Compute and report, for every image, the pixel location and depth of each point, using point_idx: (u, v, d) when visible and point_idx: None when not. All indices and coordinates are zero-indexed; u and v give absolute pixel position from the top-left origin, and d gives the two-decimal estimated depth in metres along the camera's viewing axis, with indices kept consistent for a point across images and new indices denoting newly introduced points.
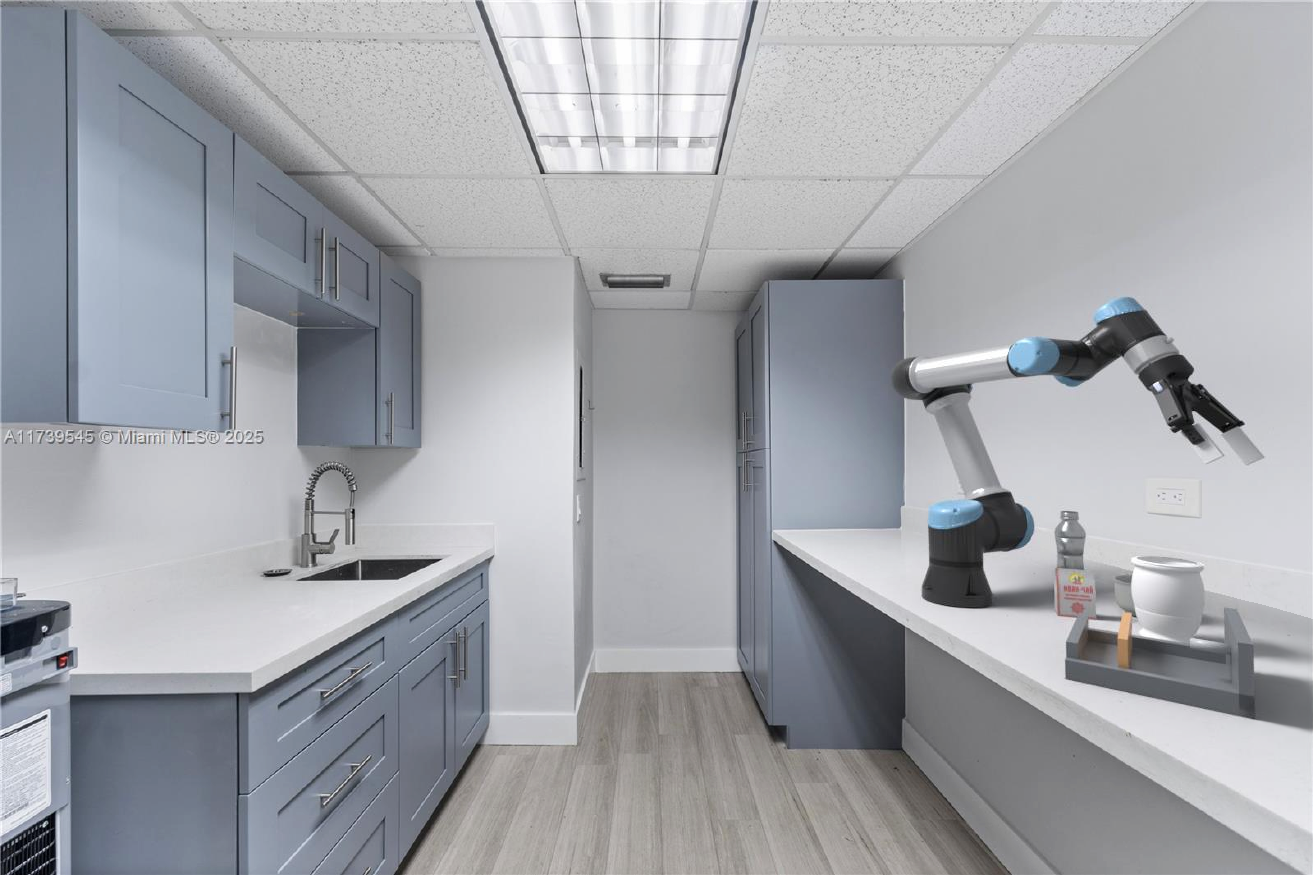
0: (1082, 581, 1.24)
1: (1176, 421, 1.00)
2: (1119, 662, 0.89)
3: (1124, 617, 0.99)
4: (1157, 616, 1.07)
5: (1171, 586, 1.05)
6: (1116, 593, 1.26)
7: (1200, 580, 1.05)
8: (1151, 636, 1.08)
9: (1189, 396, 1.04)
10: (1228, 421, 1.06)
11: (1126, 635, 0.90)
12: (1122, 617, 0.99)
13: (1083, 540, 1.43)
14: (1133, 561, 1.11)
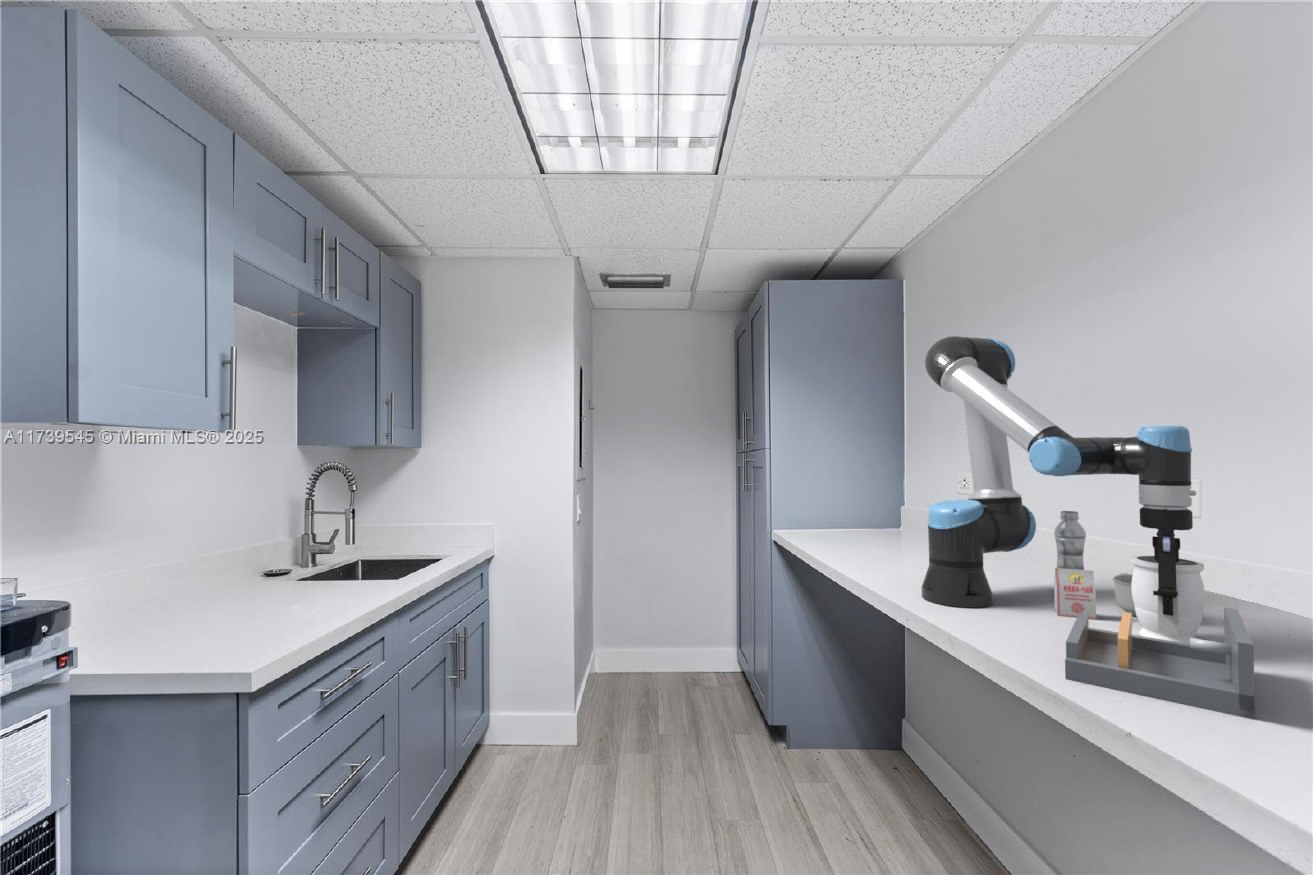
0: (1082, 581, 1.24)
1: (1168, 594, 1.02)
2: (1119, 662, 0.89)
3: (1124, 617, 0.99)
4: None
5: None
6: (1116, 593, 1.26)
7: (1200, 580, 1.05)
8: (1151, 636, 1.08)
9: (1178, 559, 1.06)
10: None
11: (1126, 635, 0.90)
12: (1122, 617, 0.99)
13: (1083, 540, 1.43)
14: (1133, 561, 1.11)
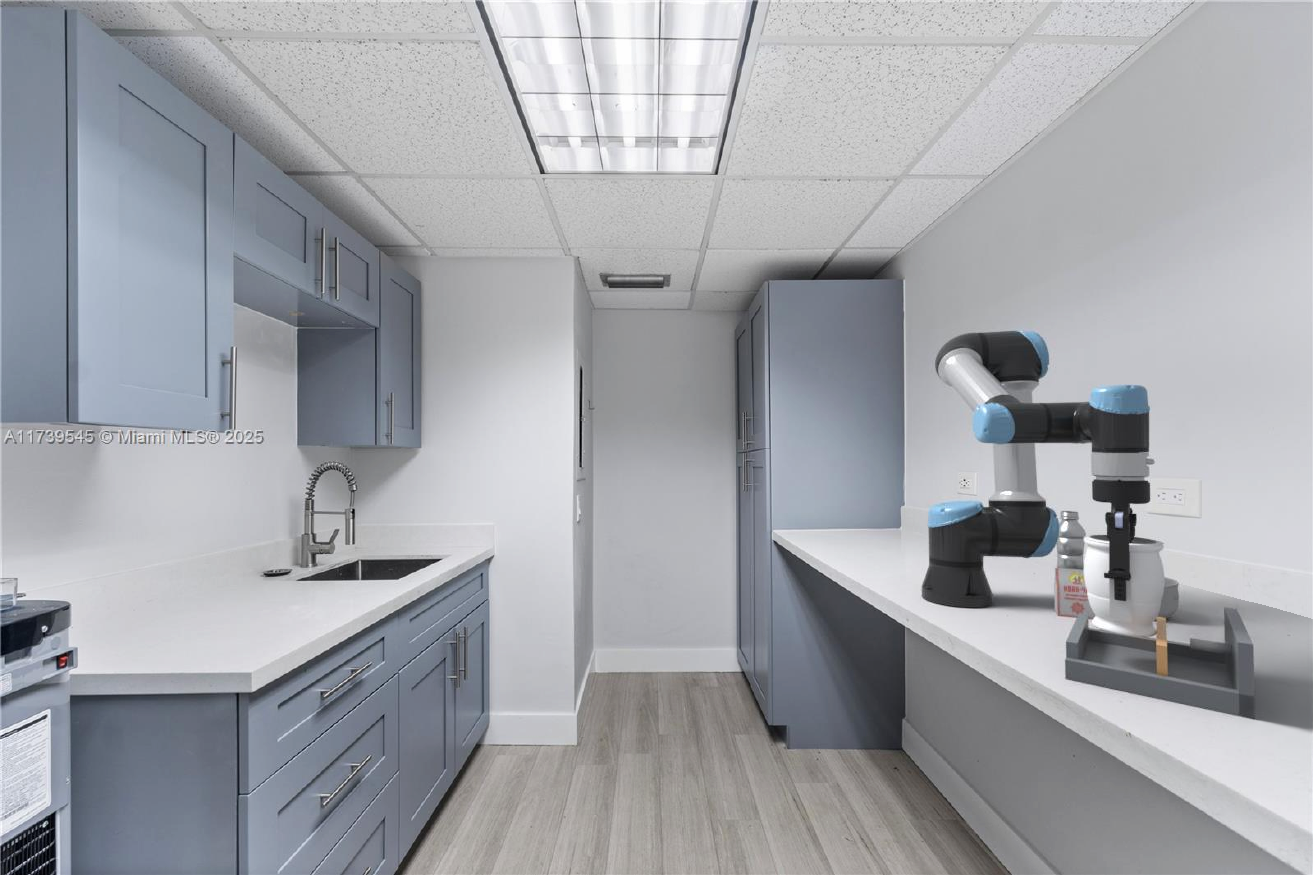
0: (1082, 581, 1.24)
1: (1120, 576, 0.89)
2: (1158, 669, 0.86)
3: (1159, 622, 0.96)
4: None
5: None
6: None
7: (1158, 561, 0.91)
8: (1104, 625, 0.95)
9: (1133, 537, 0.93)
10: None
11: (1165, 641, 0.87)
12: (1157, 622, 0.96)
13: (1083, 540, 1.43)
14: (1085, 540, 0.97)
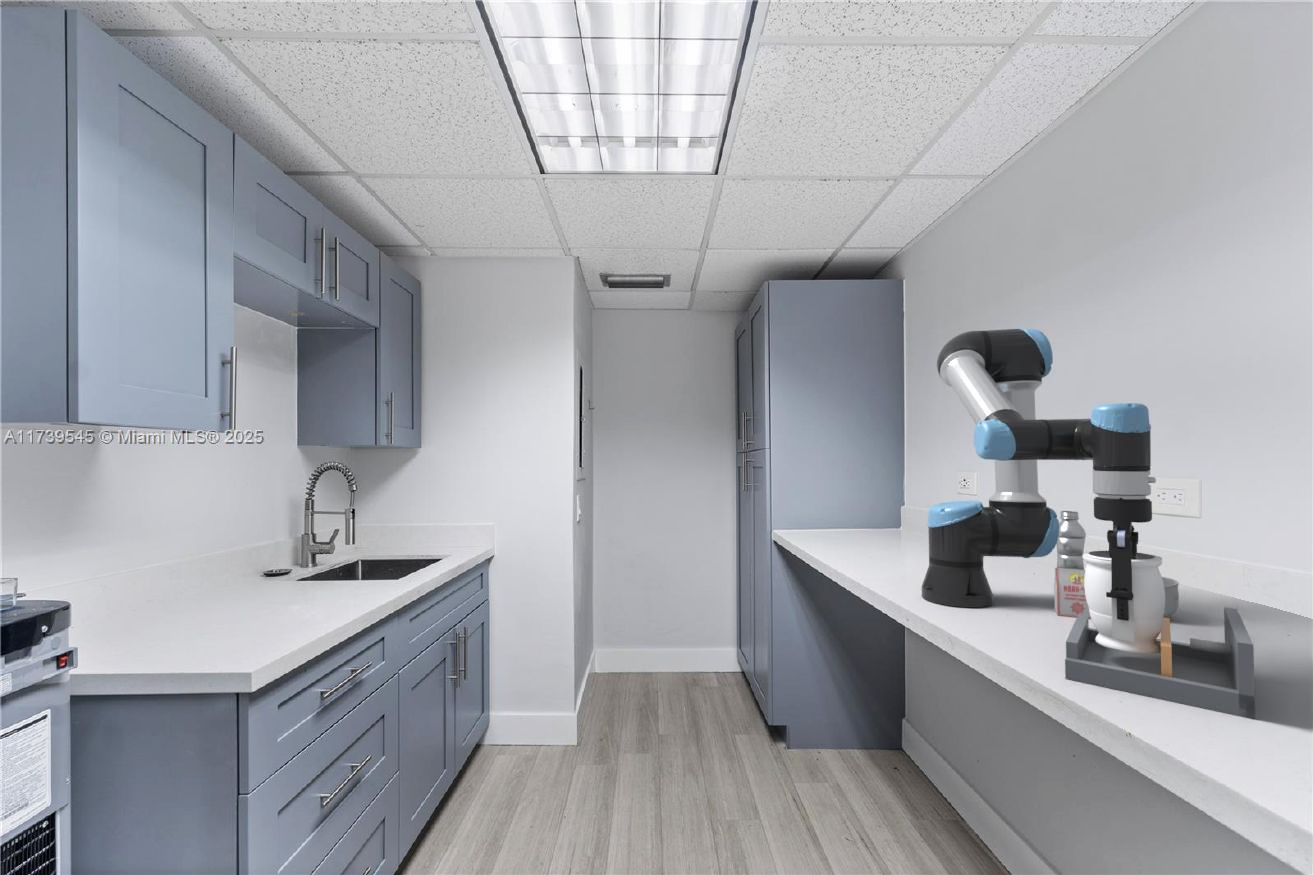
0: (1082, 581, 1.24)
1: (1122, 595, 0.89)
2: (1162, 670, 0.85)
3: (1163, 623, 0.96)
4: None
5: None
6: None
7: (1158, 576, 0.91)
8: (1108, 642, 0.94)
9: (1135, 556, 0.92)
10: None
11: (1169, 642, 0.87)
12: None
13: (1083, 540, 1.43)
14: (1084, 557, 0.97)
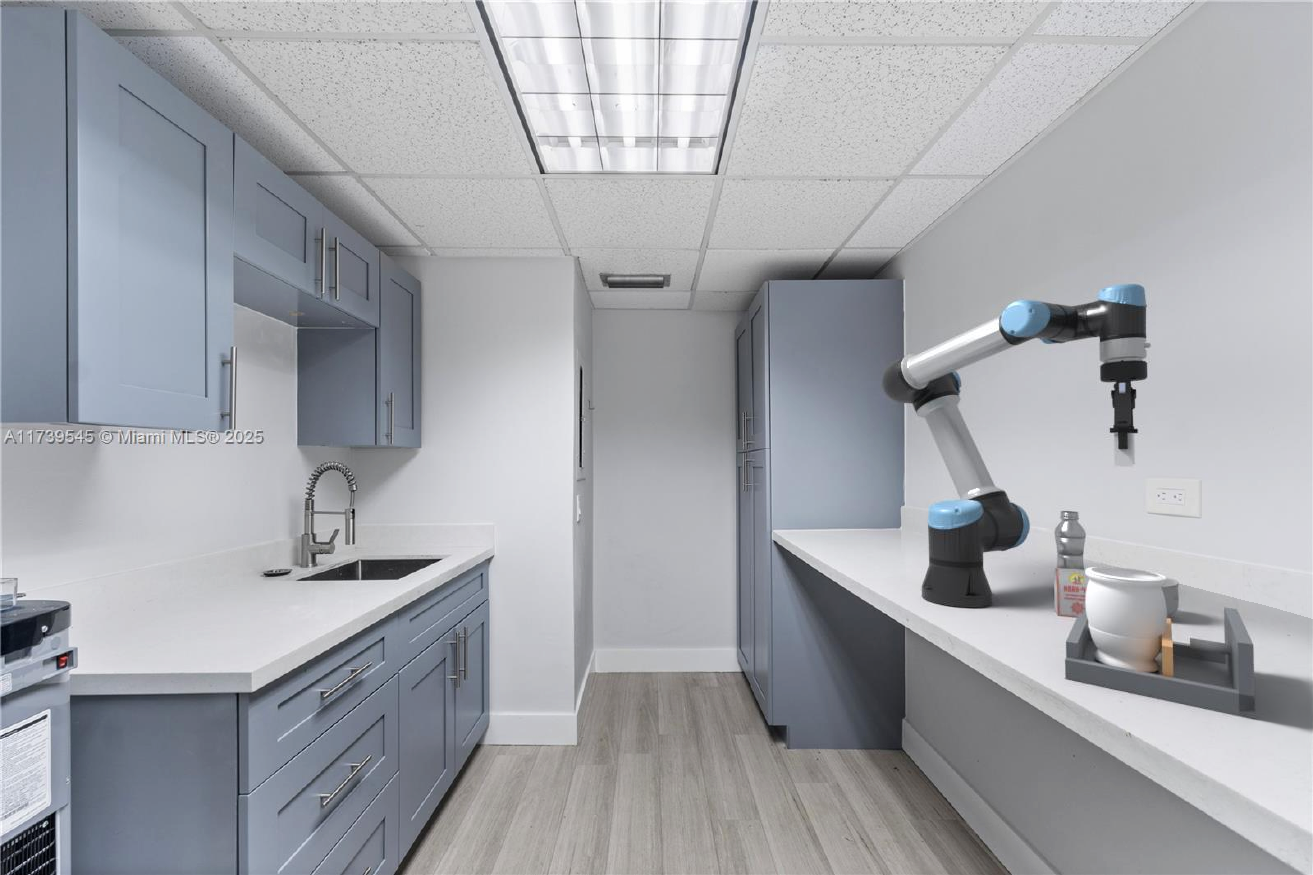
0: (1082, 581, 1.24)
1: (1122, 427, 1.10)
2: (1164, 670, 0.85)
3: None
4: (1114, 637, 0.92)
5: (1130, 603, 0.91)
6: None
7: (1161, 596, 0.91)
8: (1107, 660, 0.94)
9: (1134, 404, 1.15)
10: (1130, 426, 1.22)
11: (1170, 642, 0.87)
12: None
13: (1083, 540, 1.43)
14: (1087, 573, 0.97)
